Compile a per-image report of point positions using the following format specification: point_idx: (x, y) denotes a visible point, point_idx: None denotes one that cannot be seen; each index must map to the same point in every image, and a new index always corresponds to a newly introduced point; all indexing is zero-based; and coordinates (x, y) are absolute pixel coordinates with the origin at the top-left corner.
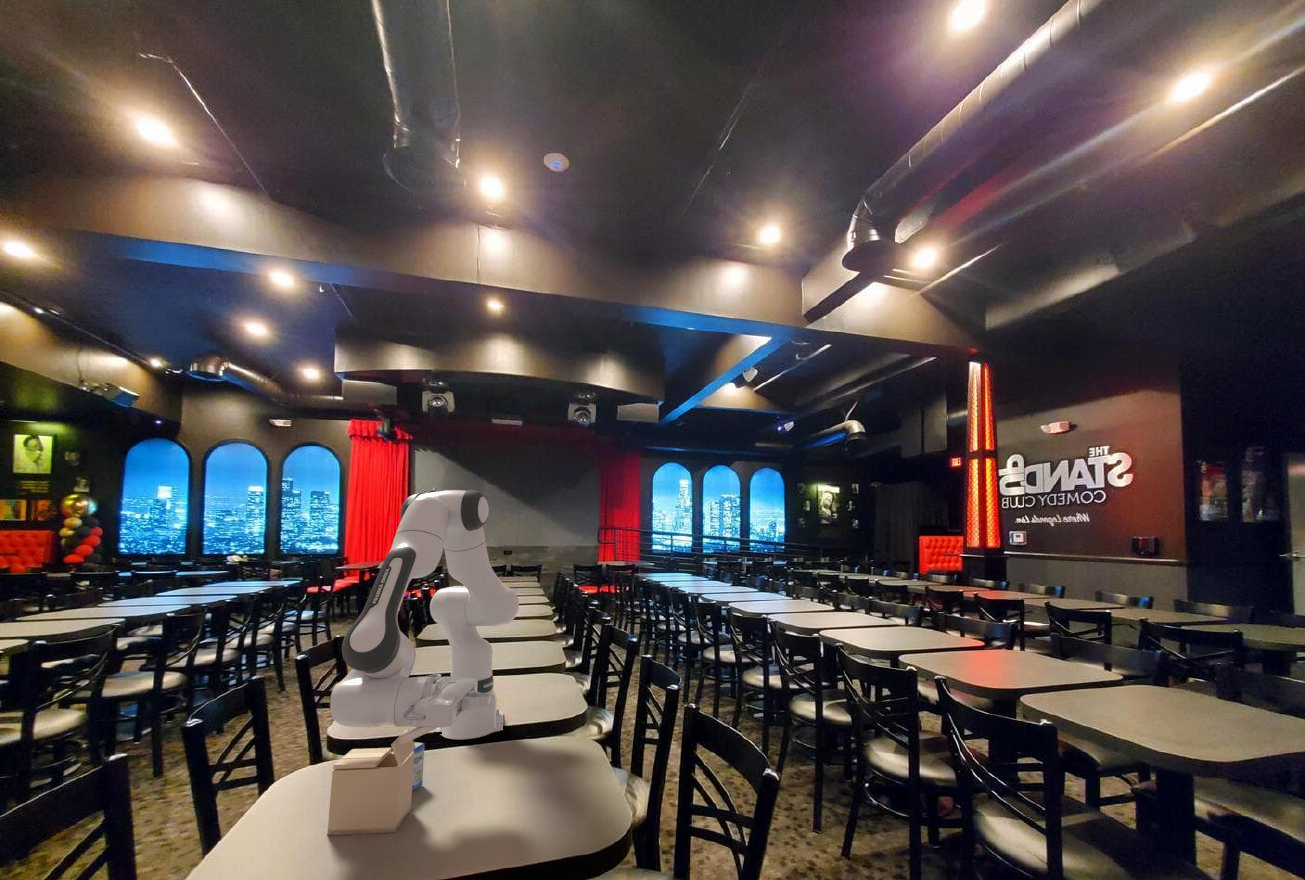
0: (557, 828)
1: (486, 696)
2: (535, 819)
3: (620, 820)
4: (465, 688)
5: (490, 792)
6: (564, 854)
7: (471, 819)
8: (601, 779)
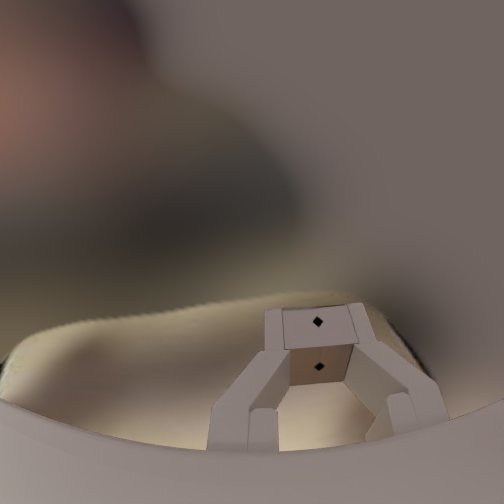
0: None
1: (342, 310)
2: (301, 391)
3: (303, 293)
4: (239, 479)
5: None
6: (391, 335)
7: None
8: (176, 316)
